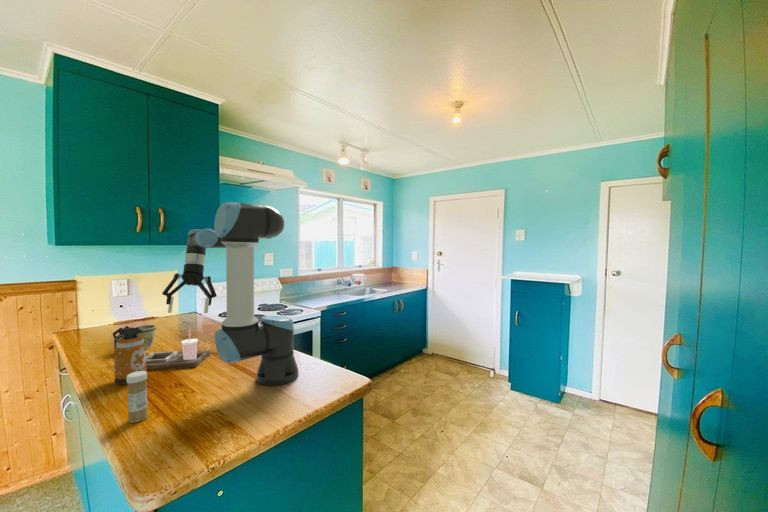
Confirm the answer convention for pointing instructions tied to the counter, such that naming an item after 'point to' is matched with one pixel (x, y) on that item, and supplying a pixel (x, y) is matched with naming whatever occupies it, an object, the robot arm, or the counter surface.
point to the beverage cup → (189, 348)
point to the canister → (128, 353)
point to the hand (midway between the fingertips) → (188, 312)
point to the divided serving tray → (173, 360)
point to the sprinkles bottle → (137, 396)
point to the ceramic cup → (147, 334)
